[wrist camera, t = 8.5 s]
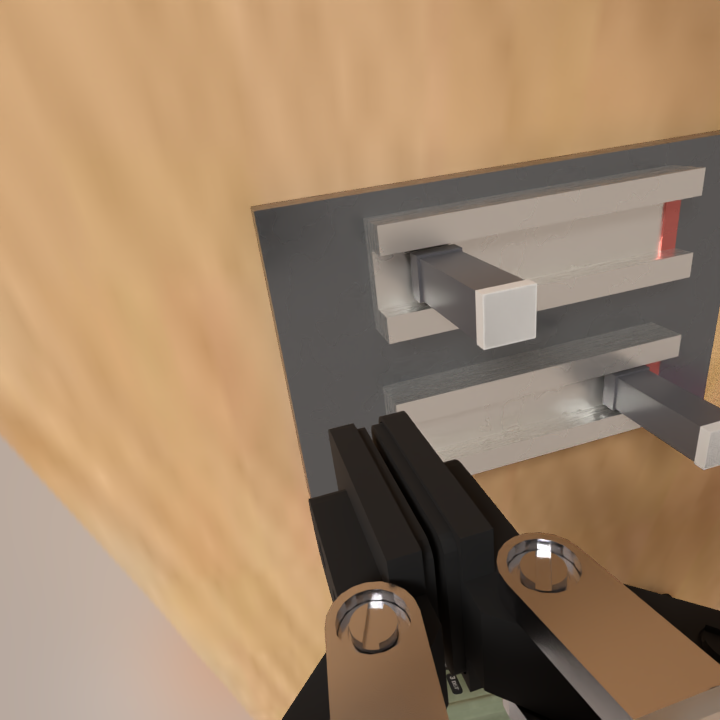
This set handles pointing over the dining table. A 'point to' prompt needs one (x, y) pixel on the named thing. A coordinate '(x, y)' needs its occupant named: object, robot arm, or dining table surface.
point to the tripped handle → (475, 295)
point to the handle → (667, 413)
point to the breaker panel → (514, 255)
